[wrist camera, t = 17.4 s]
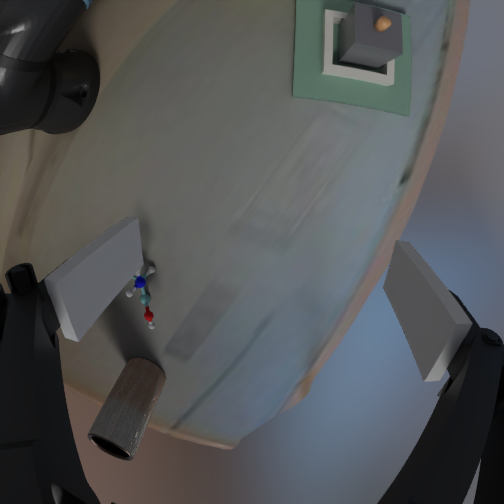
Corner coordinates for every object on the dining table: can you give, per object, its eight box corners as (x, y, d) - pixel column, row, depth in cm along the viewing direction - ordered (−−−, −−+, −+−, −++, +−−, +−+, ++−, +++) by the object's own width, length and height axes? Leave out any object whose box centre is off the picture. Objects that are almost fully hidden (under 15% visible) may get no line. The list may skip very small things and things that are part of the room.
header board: (292, 97, 33) (293, 94, 30) (296, -3, 26) (297, -15, 23) (405, 116, 32) (416, 116, 28) (405, 18, 25) (416, 11, 22)
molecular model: (96, 287, 46) (92, 307, 38) (120, 243, 47) (120, 253, 38) (148, 315, 52) (156, 339, 43) (173, 274, 52) (184, 290, 44)
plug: (337, 62, 29) (359, 37, 18) (338, 29, 27) (358, -6, 16) (374, 69, 29) (410, 50, 18) (374, 37, 26) (408, 8, 16)
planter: (145, 386, 63) (112, 458, 43) (120, 359, 60) (78, 432, 39) (174, 382, 60) (143, 463, 40) (148, 353, 57) (105, 436, 37)
